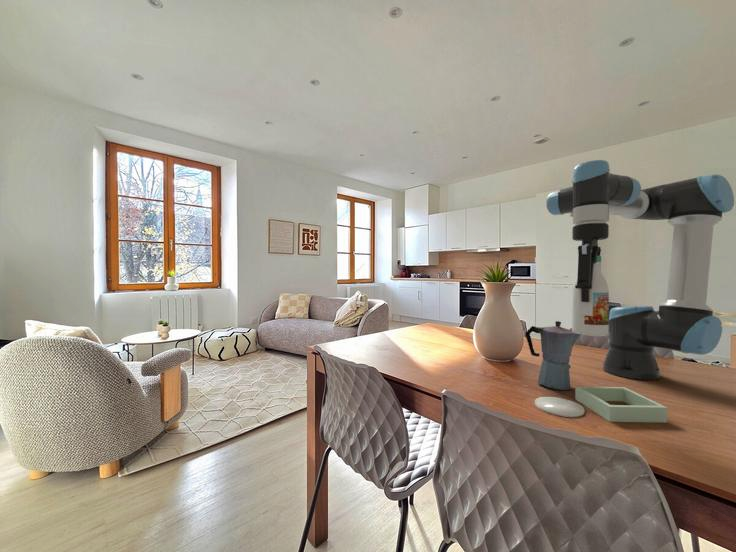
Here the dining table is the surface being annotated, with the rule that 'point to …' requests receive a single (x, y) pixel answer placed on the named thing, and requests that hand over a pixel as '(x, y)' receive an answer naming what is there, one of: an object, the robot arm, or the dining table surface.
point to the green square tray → (634, 412)
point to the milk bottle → (600, 318)
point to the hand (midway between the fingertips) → (589, 313)
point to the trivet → (559, 406)
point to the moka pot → (554, 355)
